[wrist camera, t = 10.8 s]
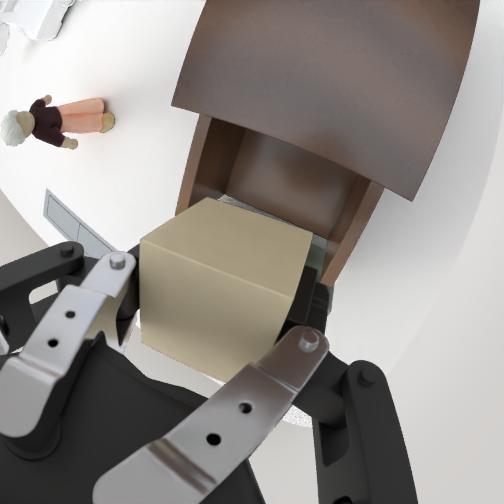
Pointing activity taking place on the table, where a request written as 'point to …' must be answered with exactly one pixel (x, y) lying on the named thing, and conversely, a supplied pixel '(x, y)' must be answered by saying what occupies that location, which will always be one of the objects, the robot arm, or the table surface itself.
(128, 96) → the table surface
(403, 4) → the cabinet
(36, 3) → the telephone
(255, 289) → the block
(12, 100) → the table surface
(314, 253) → the drawer
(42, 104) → the grandmother figurine
